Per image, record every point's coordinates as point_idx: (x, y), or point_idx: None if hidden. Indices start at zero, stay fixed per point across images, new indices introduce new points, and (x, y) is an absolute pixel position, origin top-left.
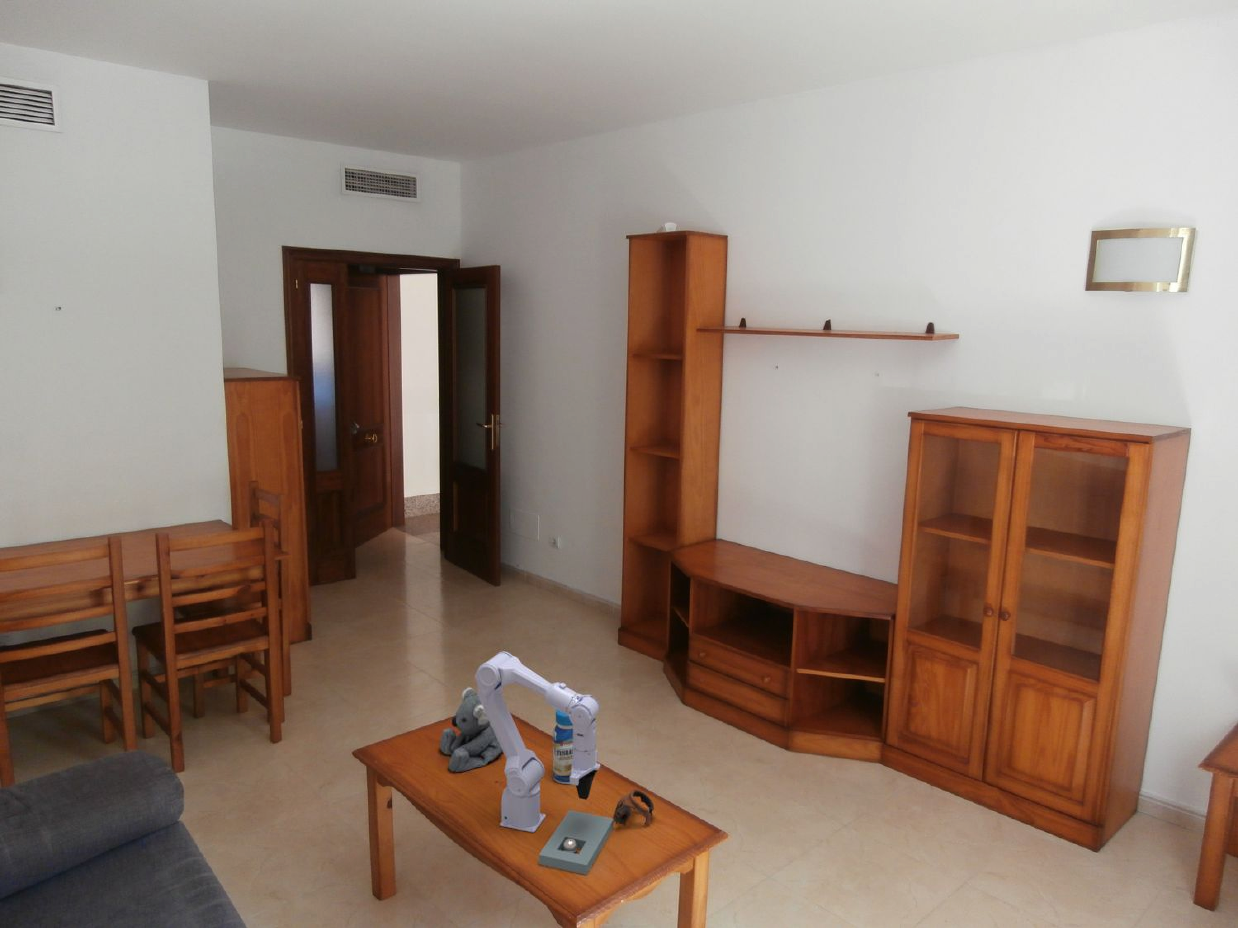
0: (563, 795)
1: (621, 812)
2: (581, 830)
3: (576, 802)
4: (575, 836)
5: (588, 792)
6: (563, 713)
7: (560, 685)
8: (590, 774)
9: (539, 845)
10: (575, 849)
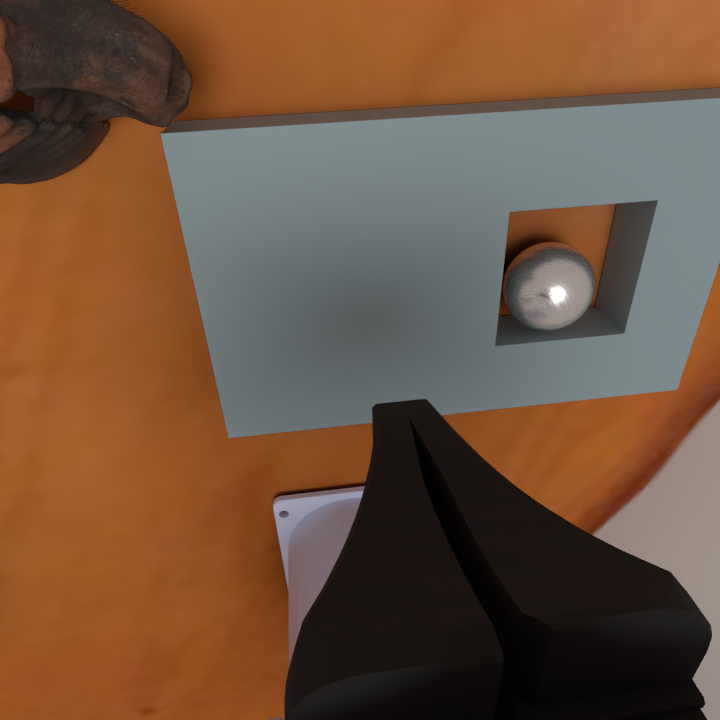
0: (53, 511)
1: (154, 46)
2: (404, 290)
3: (65, 437)
4: (477, 296)
5: (441, 435)
6: None
7: None
8: (557, 664)
9: (503, 419)
10: (567, 245)
